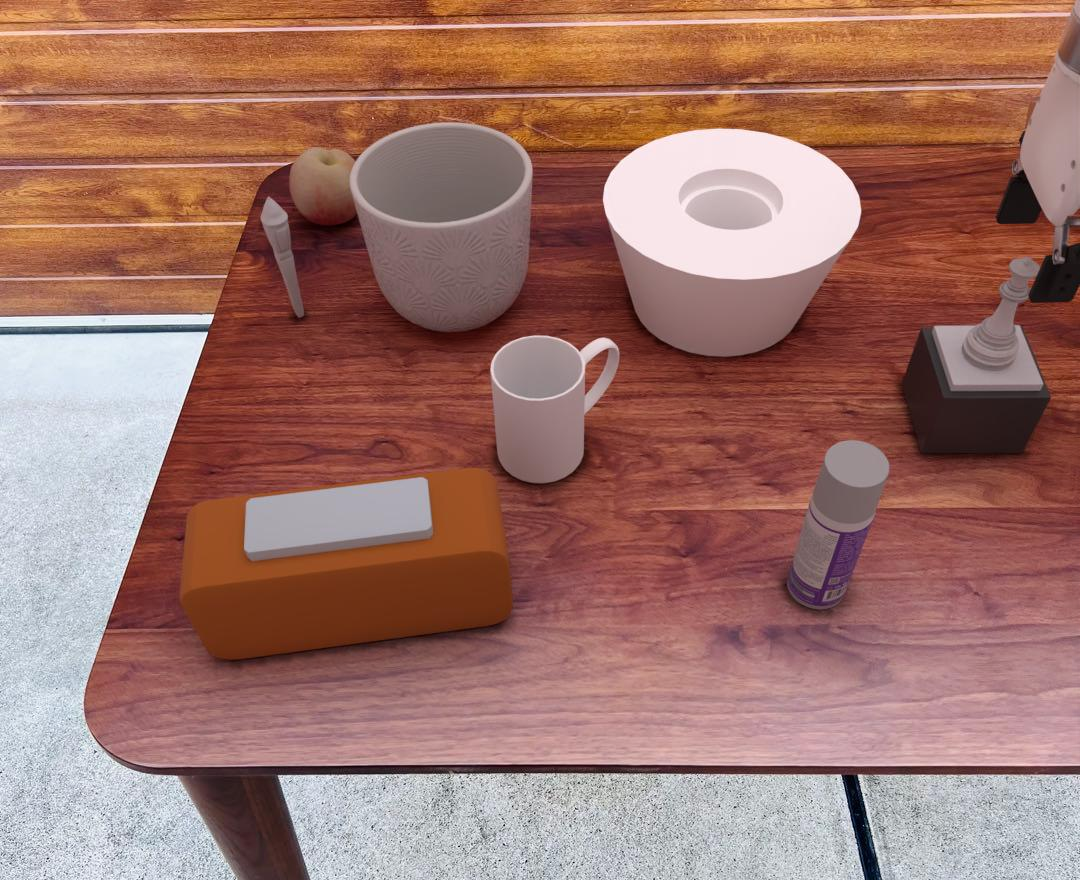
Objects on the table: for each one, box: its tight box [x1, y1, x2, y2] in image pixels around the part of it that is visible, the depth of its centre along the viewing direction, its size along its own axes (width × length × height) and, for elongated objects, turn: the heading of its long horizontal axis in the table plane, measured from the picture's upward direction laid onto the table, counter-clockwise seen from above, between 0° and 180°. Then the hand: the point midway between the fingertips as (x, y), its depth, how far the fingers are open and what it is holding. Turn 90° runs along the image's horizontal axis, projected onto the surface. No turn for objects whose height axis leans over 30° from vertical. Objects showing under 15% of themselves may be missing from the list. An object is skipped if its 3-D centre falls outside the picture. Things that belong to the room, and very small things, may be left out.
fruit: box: [288, 146, 357, 226], centre depth 111 cm, size 8×8×8 cm
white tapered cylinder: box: [602, 128, 862, 358], centre depth 99 cm, size 24×24×12 cm
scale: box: [901, 324, 1052, 454], centre depth 90 cm, size 9×9×8 cm
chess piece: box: [962, 256, 1041, 370], centre depth 83 cm, size 4×4×10 cm
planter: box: [350, 121, 534, 333], centre depth 99 cm, size 17×17×15 cm
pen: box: [259, 196, 305, 319], centre depth 99 cm, size 2×3×14 cm
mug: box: [489, 335, 621, 484], centre depth 88 cm, size 12×8×10 cm, turn 124°
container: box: [786, 439, 890, 610], centre depth 76 cm, size 5×5×15 cm
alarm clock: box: [179, 467, 514, 661], centre depth 78 cm, size 24×8×11 cm, turn 98°
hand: (1031, 259), depth 79 cm, fingers open, 9 cm apart
